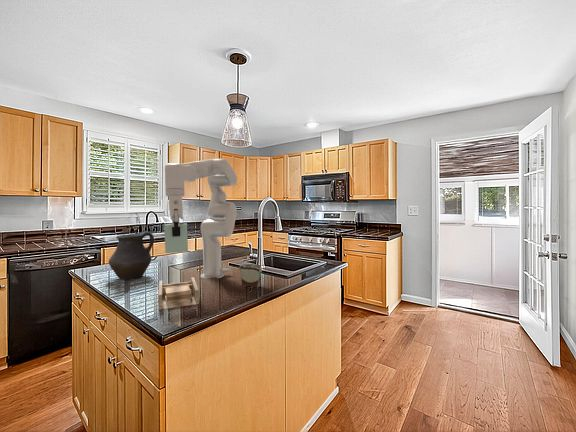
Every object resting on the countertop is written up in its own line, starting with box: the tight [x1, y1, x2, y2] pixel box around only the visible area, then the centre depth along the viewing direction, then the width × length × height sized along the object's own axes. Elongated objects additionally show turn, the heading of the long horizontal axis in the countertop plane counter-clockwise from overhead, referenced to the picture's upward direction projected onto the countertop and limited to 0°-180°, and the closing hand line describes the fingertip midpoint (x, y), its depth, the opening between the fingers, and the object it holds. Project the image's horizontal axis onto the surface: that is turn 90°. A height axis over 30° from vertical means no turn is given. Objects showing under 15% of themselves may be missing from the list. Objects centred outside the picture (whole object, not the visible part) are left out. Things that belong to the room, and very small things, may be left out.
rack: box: [157, 276, 200, 310], centre depth 117 cm, size 14×20×7 cm
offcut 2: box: [167, 289, 191, 301], centre depth 115 cm, size 9×7×2 cm
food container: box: [238, 263, 263, 288], centre depth 140 cm, size 12×6×10 cm, turn 65°
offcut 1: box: [165, 285, 191, 297], centre depth 114 cm, size 9×7×2 cm
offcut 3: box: [165, 296, 191, 306], centre depth 114 cm, size 9×7×2 cm
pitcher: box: [108, 230, 155, 280], centre depth 153 cm, size 21×22×25 cm
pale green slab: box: [163, 223, 189, 254], centre depth 122 cm, size 9×3×12 cm, turn 114°
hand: (176, 235), depth 121 cm, fingers closed on pale green slab, 2 cm apart
